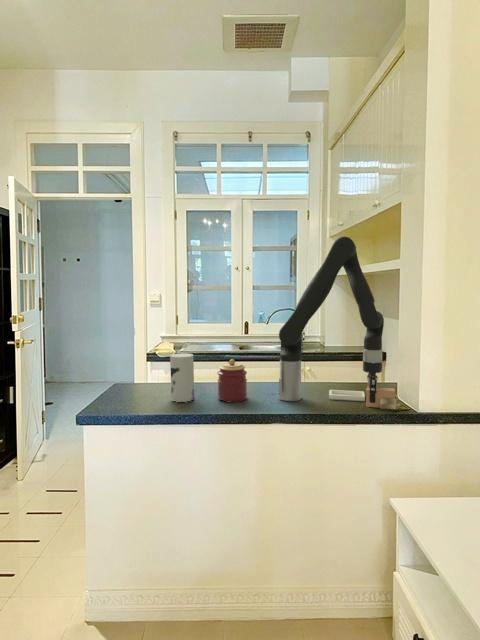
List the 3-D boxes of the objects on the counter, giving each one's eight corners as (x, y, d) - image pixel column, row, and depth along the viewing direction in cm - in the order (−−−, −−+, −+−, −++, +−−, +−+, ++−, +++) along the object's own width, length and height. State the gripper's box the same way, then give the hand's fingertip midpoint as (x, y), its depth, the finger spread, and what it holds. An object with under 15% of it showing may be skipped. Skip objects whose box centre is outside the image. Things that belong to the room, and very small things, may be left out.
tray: (328, 399, 187) (329, 394, 186) (329, 394, 195) (329, 389, 195) (364, 401, 183) (364, 396, 183) (363, 395, 192) (363, 391, 192)
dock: (380, 408, 173) (380, 398, 172) (378, 403, 180) (378, 393, 180) (398, 409, 171) (398, 399, 171) (396, 403, 179) (396, 394, 178)
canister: (219, 394, 196) (218, 356, 195) (247, 394, 196) (247, 356, 194) (216, 403, 183) (215, 362, 182) (247, 402, 183) (246, 362, 181)
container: (166, 400, 188) (165, 355, 187) (184, 395, 196) (183, 352, 194) (181, 404, 182) (180, 357, 180) (198, 399, 189) (198, 354, 187)
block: (366, 406, 176) (366, 389, 175) (366, 403, 180) (366, 386, 180) (394, 408, 172) (394, 391, 172) (393, 405, 177) (394, 388, 176)
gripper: (362, 356, 183) (361, 395, 185) (363, 363, 170) (363, 405, 171) (380, 357, 182) (380, 396, 183) (383, 363, 168) (383, 406, 169)
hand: (371, 400), depth 177 cm, fingers closed on block, 5 cm apart
